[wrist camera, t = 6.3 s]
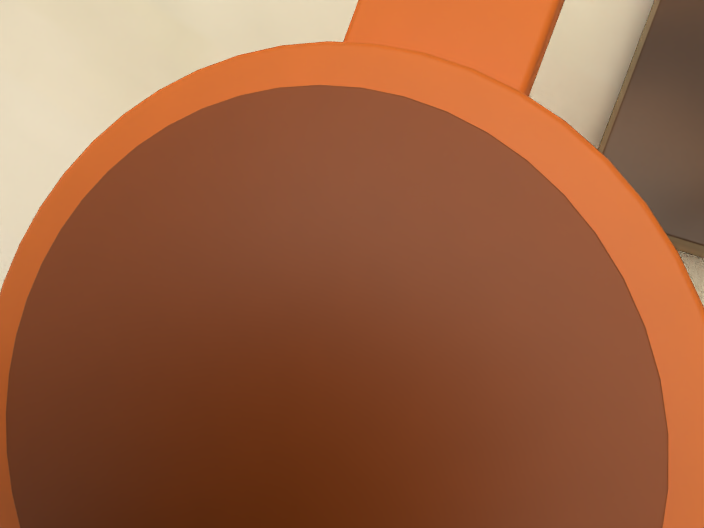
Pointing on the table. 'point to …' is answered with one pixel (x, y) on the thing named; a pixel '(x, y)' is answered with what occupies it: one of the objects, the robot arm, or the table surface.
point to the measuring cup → (353, 302)
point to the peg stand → (665, 121)
